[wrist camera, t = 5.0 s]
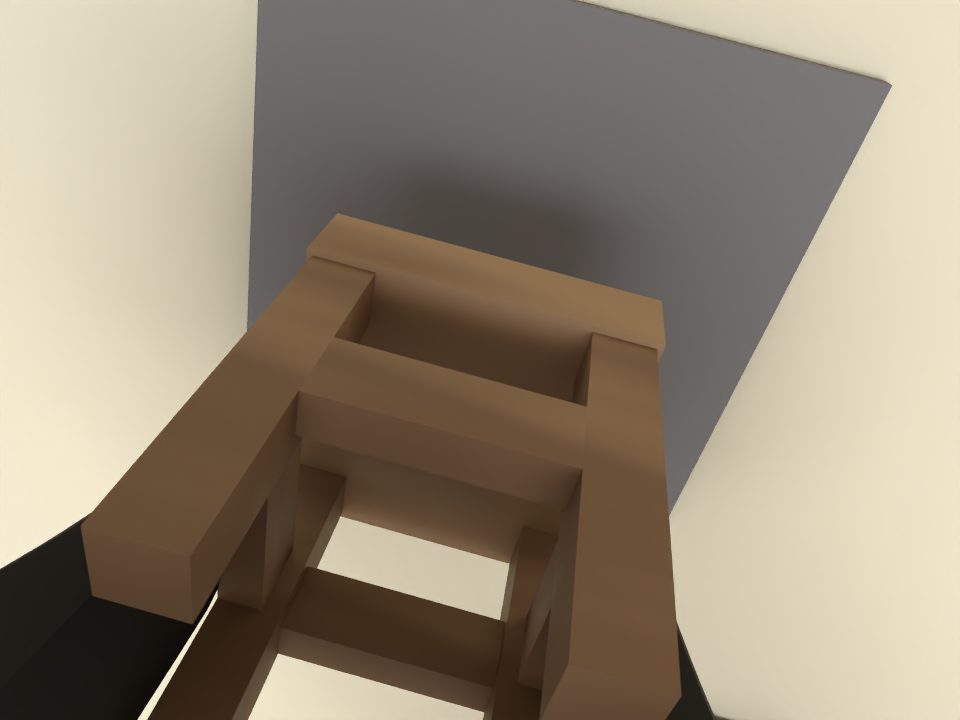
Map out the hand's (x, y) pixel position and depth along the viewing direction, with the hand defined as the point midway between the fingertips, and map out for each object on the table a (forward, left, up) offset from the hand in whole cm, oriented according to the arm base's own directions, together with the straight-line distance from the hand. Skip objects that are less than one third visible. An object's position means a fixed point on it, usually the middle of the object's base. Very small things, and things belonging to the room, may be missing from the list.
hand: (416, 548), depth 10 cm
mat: (0, 0, -9) cm, 9 cm away
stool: (0, 0, -4) cm, 4 cm away
